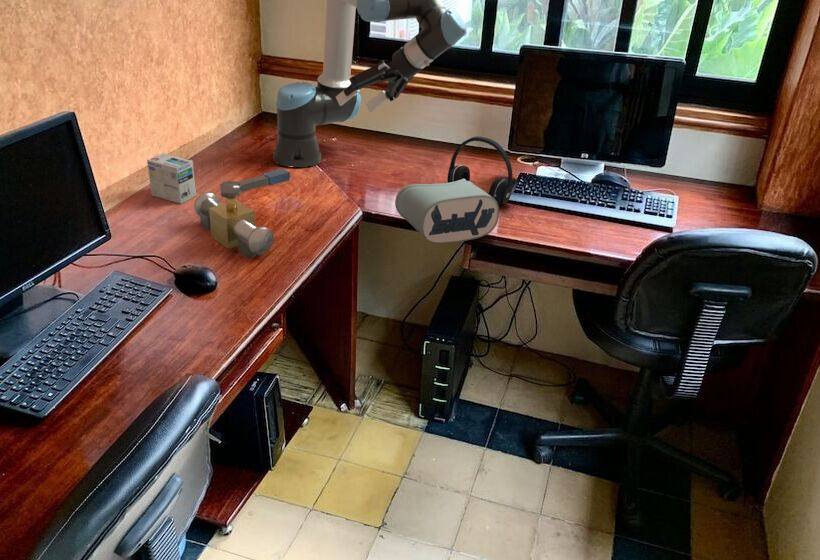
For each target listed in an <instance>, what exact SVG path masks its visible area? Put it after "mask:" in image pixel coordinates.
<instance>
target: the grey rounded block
mask: <svg viewBox="0 0 820 560" xmlns="http://www.w3.org/2000/svg"><path fill="white" fill-rule="evenodd" d="M394 200H395V204H394V205H395V210H396V211H397V213H398V215H400V217H401V218H403V219H404V220H406V221H407V222H408V224H410V226H412V227H413V228H414V229H415V230H416V231H417V232H418V233H419V234H420V235H421V236H423V238H424V239H425V240H426V241H428V242H429V243H433V244H438V245H440V244H441V245H442V244H444V245H445V244H454V243H462V242H466V241H473V240H477V239H480V238H483V237H485V236H488V235H489V234H490V233H492V232H493V230H494V229H495V228H496V226H497V224H498V221H499V218H500V208H499V205H498V203H497V201H496V200H495V199H494V198H493V197H491V196H490V195H489V193H487V192H486V191H485V190H483V189H482V188H481V187H478V186H477V185H475V184H474V183H473V182H472V181H471V180H470V181H467V180H466V179H461V180H458V181H455V182H450V183H448V182H445V183H444V182H443V183H420V184H419V183H416V184H415V183H413V184H409V185H407V186H406V185H405V186H404V187H402V188H401V189H400V190H399V191H398V192H397V194H396V197H395V199H394Z"/></svg>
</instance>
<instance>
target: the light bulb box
mask: <svg viewBox="0 0 820 560" xmlns="http://www.w3.org/2000/svg"><path fill="white" fill-rule="evenodd" d="M193 161H194V160H191V159H187V158H182V157H179V156H174V155H171V154H166V153H164V152H163V153H161V154H158V155H156V156H152V157H151V158H148V159H147V160H146V162H147V163H146V165H147V171H148V178H149V184H150V186H149V187H150V191H151V192H150V193H151V194H150V195H151V196H152V197H157V198H160V199H162V200H167V201H171V202H174V203H178V204H181V205H182V204H184V203H185V202H187V201H189V200H190V199H193V198H195V197H197V190H196V183H195V181H196V180H195V171H194V162H193Z"/></svg>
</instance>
